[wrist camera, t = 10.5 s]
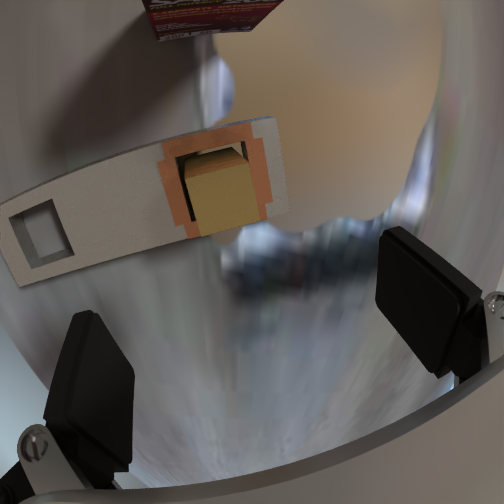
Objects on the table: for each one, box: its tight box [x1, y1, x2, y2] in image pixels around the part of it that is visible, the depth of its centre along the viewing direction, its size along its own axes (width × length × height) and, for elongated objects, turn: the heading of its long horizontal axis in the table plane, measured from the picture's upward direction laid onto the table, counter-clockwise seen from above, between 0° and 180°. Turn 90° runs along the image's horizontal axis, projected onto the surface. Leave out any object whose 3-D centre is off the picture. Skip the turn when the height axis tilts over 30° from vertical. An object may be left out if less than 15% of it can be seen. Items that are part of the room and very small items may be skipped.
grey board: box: [0, 116, 290, 287], centre depth 25 cm, size 9×30×3 cm, turn 100°
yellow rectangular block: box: [185, 147, 260, 237], centre depth 24 cm, size 4×4×8 cm
